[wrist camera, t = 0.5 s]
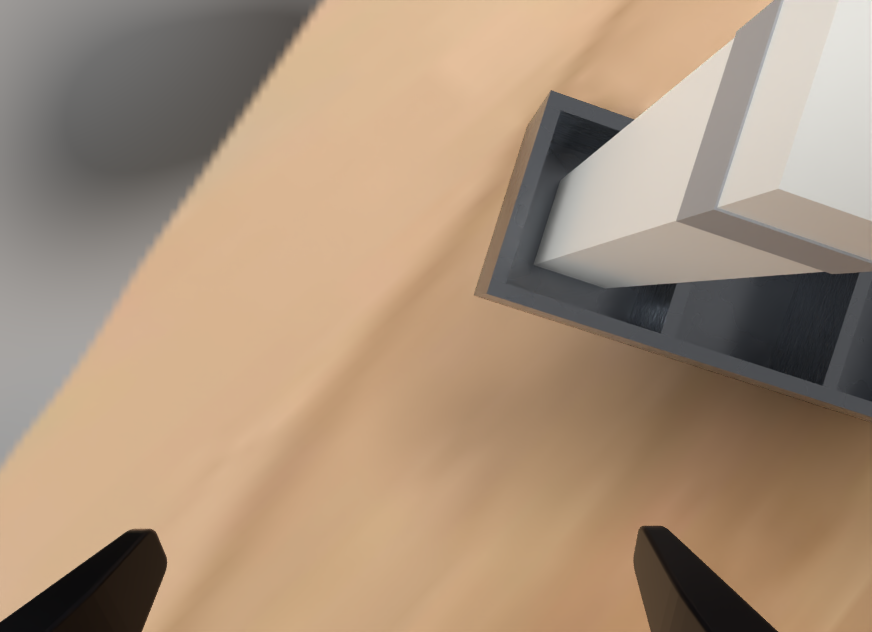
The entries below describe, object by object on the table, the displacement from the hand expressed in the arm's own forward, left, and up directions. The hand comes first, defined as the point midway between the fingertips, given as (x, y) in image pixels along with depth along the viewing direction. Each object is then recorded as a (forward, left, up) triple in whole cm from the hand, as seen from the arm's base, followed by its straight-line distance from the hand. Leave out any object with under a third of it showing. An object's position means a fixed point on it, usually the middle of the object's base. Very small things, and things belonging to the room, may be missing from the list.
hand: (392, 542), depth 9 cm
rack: (-1, -16, -13) cm, 20 cm away
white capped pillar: (+3, -11, -12) cm, 17 cm away
